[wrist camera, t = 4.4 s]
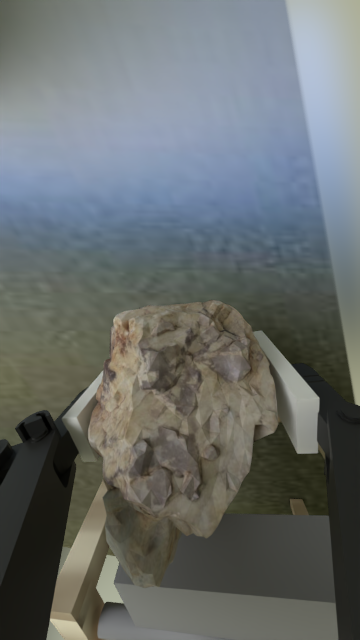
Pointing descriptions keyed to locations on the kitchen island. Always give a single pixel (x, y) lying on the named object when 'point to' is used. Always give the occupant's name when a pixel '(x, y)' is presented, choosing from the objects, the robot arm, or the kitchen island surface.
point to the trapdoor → (236, 585)
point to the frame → (94, 573)
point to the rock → (176, 426)
